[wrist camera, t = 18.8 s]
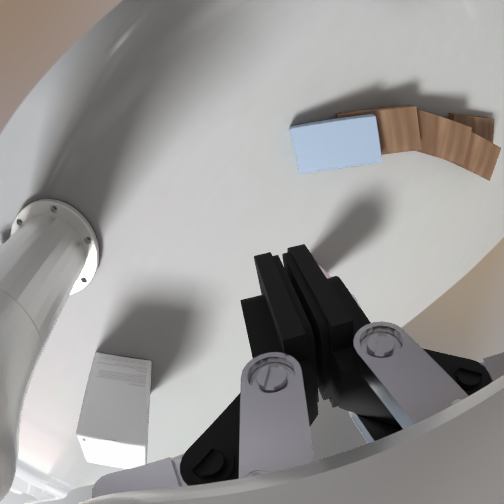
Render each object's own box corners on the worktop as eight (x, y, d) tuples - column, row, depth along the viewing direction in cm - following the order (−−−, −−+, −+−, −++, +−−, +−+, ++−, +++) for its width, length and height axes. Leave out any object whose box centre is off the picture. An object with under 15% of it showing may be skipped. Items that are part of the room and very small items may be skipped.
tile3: (399, 146, 33) (463, 165, 32) (407, 106, 31) (471, 127, 30) (396, 143, 35) (457, 161, 34) (403, 105, 32) (465, 125, 31)
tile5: (453, 150, 35) (492, 151, 36) (454, 114, 32) (494, 119, 33) (444, 147, 36) (484, 149, 37) (445, 112, 34) (485, 117, 35)
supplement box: (98, 386, 46) (84, 462, 33) (94, 350, 42) (73, 433, 29) (151, 395, 48) (146, 473, 35) (153, 360, 44) (146, 446, 31)
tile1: (299, 174, 33) (382, 162, 31) (288, 129, 31) (375, 116, 28) (299, 169, 35) (378, 158, 32) (289, 126, 32) (372, 113, 30)
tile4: (438, 156, 34) (489, 180, 34) (449, 120, 32) (501, 148, 31) (433, 153, 36) (483, 176, 35) (444, 119, 33) (494, 145, 33)
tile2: (346, 159, 33) (421, 149, 31) (338, 115, 31) (416, 106, 29) (343, 155, 35) (415, 146, 33) (336, 113, 32) (410, 104, 30)
